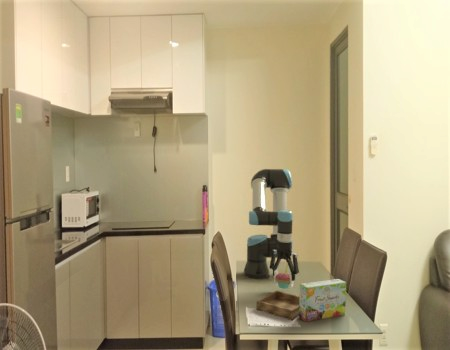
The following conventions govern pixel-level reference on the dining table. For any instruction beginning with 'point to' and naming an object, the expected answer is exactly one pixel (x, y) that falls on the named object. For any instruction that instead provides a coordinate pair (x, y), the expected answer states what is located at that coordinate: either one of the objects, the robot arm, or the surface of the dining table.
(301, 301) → the snack box
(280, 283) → the cupcake
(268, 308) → the walnut tray
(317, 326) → the dining table surface
